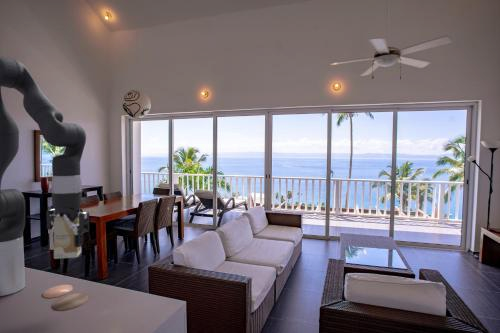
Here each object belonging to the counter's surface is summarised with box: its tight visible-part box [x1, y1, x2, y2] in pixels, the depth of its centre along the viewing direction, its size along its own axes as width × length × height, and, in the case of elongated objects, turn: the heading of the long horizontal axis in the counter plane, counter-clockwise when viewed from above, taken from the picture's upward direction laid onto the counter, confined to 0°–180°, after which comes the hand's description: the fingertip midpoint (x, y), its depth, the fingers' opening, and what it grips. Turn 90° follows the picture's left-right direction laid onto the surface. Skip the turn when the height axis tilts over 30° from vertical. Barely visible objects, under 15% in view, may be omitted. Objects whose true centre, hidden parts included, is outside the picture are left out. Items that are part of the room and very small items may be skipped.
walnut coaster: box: [52, 292, 89, 311], centre depth 87 cm, size 9×9×1 cm
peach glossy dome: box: [42, 284, 74, 299], centre depth 94 cm, size 8×8×1 cm
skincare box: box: [53, 216, 82, 260], centre depth 86 cm, size 6×4×12 cm
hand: (68, 245), depth 86 cm, fingers closed on skincare box, 7 cm apart
